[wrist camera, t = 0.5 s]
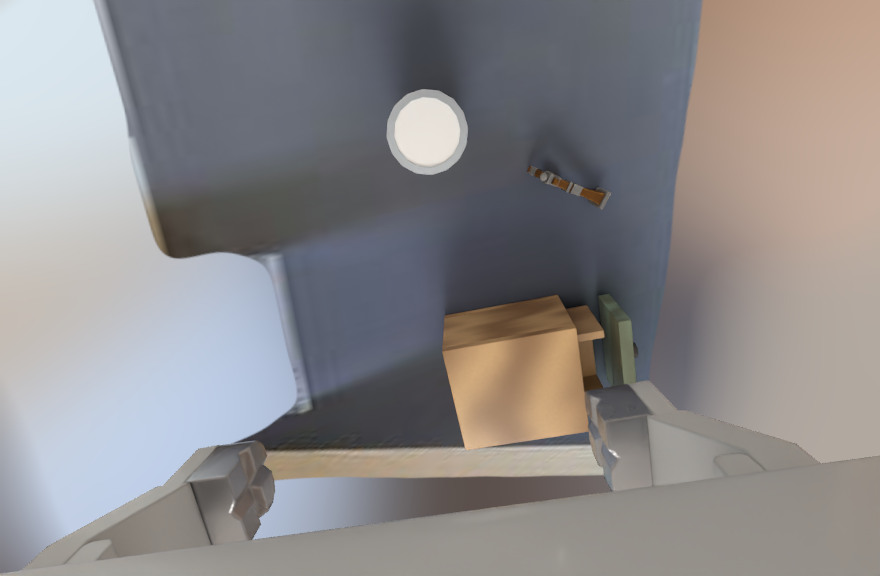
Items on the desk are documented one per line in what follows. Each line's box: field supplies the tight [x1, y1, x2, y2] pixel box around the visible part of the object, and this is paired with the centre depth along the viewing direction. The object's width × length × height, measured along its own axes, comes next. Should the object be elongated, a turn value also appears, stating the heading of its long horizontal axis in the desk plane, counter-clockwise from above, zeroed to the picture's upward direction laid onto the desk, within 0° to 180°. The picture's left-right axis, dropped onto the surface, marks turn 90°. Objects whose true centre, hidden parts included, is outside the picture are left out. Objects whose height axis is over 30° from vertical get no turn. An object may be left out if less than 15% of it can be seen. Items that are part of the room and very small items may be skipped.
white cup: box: [387, 89, 468, 175], centre depth 43 cm, size 7×7×7 cm
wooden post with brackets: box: [527, 166, 611, 210], centre depth 46 cm, size 2×8×4 cm, turn 69°
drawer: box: [566, 294, 638, 414], centre depth 49 cm, size 13×10×7 cm
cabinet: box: [442, 295, 589, 450], centre depth 50 cm, size 13×12×9 cm
